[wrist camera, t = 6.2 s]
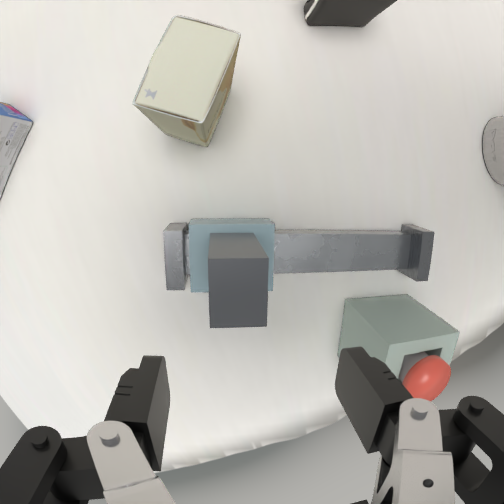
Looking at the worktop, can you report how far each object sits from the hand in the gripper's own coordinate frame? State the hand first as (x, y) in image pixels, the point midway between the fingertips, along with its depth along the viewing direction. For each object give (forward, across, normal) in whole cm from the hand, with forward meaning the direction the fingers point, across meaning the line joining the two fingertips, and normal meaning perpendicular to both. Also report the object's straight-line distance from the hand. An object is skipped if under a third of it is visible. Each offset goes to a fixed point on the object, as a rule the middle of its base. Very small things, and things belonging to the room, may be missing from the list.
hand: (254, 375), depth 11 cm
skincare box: (+20, +3, -13) cm, 24 cm away
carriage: (+20, 0, 0) cm, 20 cm away
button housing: (+20, -16, +9) cm, 27 cm away
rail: (+20, -7, 0) cm, 21 cm away
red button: (+18, -16, +9) cm, 26 cm away
